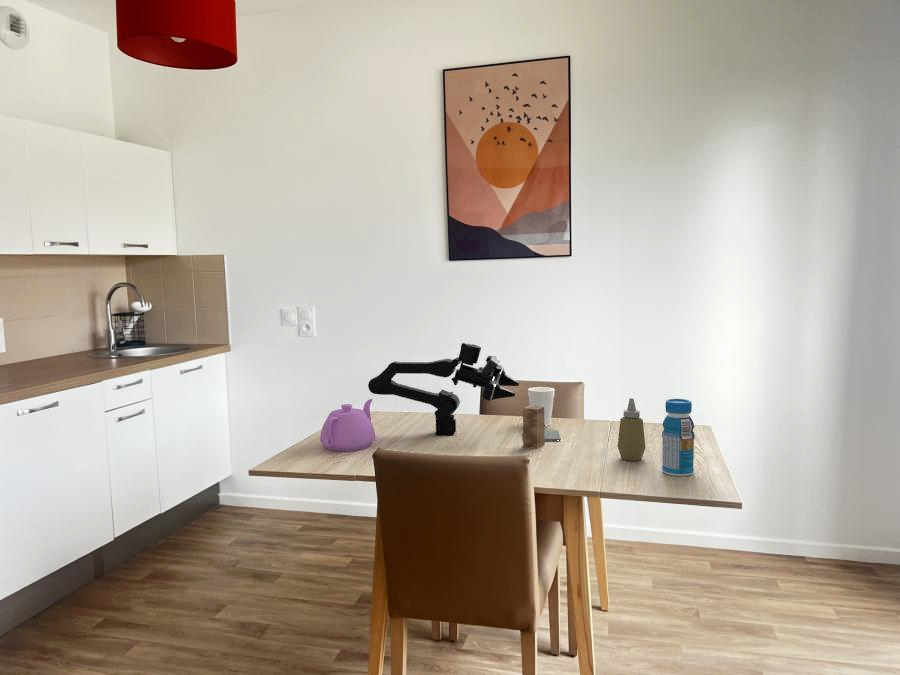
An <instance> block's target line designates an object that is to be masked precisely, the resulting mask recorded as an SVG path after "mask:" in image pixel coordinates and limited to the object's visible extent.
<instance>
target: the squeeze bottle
mask: <svg viewBox="0 0 900 675" xmlns="http://www.w3.org/2000/svg"><path fill="white" fill-rule="evenodd" d="M636 407H637V406H636V403H635V398H633V397H632V398H629V399H628V405H627V409H624V410H623V417H621V418H620V420H619V427H618V428H619V429H618V438H617V449H618V453H619V456H620V458H621V459H622V460H625V461H630V462H631V461H632V462H633V461H634V462H636V461H641V460H642V459H643V456H644V454H645V451H646V441H645V440H646V439H645V429H644V419H643V418H641V417H640V414H641V412H640V410H638V409H636Z"/></svg>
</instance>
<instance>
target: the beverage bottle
mask: <svg viewBox="0 0 900 675" xmlns="http://www.w3.org/2000/svg"><path fill="white" fill-rule="evenodd" d="M692 405H693V403H692V401H691V400H690V399H684V398H669V399H666V400H665V413H667V415H666V417H664V419H663V421H662V427H663V429H662V432H661V438H662V467H661V471H662V472H663V473H664V474H666V475H668V476H673V477H688V476H691V475H692V474H693V475H694V455H695V454H694V453H695V452H694V450H695V449H694V448H695V447H694V446H695V442H694V441H695V439H696V438H695V432H694V429H695V423H694V421H693V419H692V417H691V416H690V414H692V412H693V411H692V409H693V408H692V407H693V406H692Z"/></svg>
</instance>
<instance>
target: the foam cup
mask: <svg viewBox="0 0 900 675" xmlns="http://www.w3.org/2000/svg"><path fill="white" fill-rule="evenodd" d="M555 390H556V389H555V388H553V387H547V386H537V387H536V386H535V387H529V388H527V393H528V394H527V396H528V400H529V406H530V405H532V406H541V407H544V425H547V424H550V425H551V421H552V414H553V407H554V401H555V400H554V399H555V398H554V397H555V396H556V394H555Z"/></svg>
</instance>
